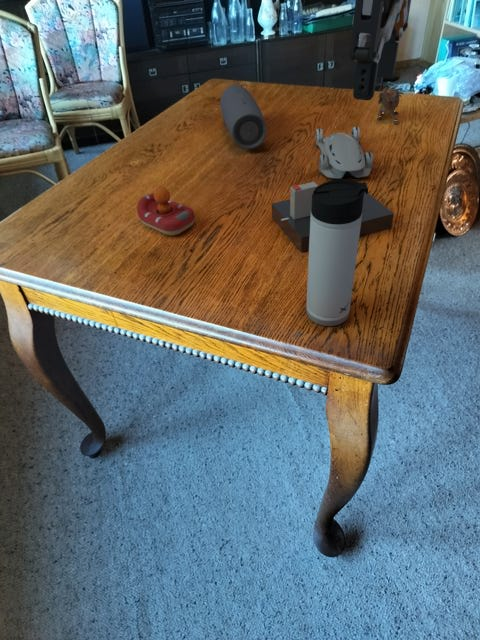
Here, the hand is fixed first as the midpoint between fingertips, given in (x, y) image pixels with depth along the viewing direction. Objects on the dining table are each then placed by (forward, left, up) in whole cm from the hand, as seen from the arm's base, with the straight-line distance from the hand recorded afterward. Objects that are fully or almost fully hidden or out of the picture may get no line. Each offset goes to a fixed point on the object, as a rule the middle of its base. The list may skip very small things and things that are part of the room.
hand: (374, 87), depth 55 cm
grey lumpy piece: (-13, -42, -29) cm, 53 cm away
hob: (-2, -17, -29) cm, 33 cm away
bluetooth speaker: (+6, -63, -29) cm, 70 cm away
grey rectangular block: (+3, -16, -25) cm, 30 cm away
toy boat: (+28, -25, -29) cm, 47 cm away
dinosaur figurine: (-33, -63, -29) cm, 77 cm away
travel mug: (+6, +7, -29) cm, 30 cm away
